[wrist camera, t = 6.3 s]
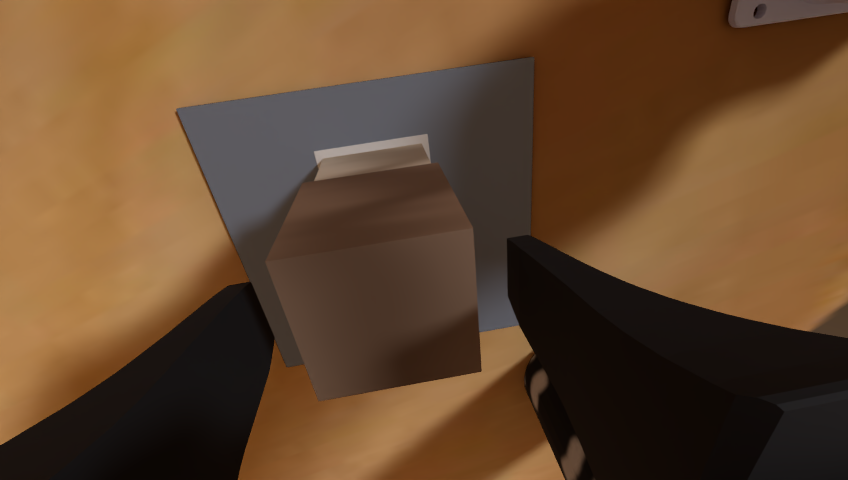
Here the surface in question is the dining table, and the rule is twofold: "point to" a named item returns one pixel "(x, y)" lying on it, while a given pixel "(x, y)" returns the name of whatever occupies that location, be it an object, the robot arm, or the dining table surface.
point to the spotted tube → (556, 423)
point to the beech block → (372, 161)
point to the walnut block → (379, 281)
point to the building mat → (368, 131)
